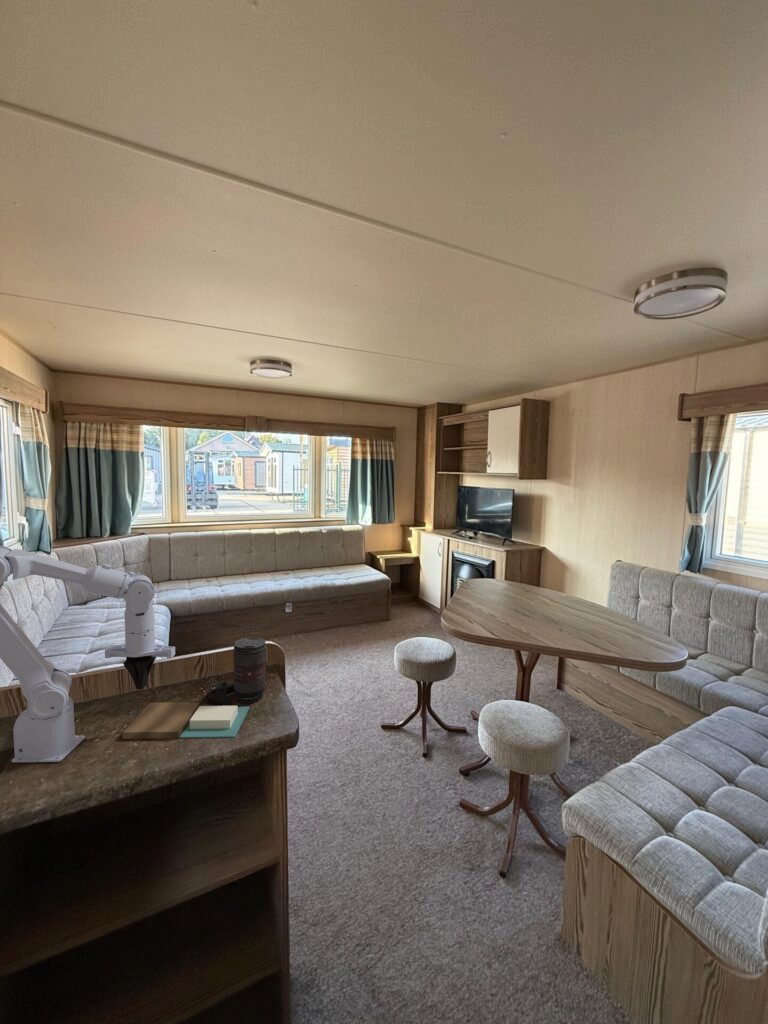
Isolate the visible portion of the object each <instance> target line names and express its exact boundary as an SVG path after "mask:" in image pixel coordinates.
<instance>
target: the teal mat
mask: <svg viewBox="0 0 768 1024" xmlns="http://www.w3.org/2000/svg"><path fill="white" fill-rule="evenodd" d="M249 709H250V706H238V714H237V716H236V718H235V720H234V722H233V724H232V726H231V727H230V728H223V729H190V723H189V724H188V726H187V727H186V729H185V730H184V731H183V733H182V734H181V736H180V737H179V739H206V738H207V739H216V738H217V739H223V738H226V739H231V738H232V739H233V738H236V737H237V735H238V732H239V730H240V728H241V726H242V724H243V722H244V721H245V718H246V716H247V714H248V712H249Z"/></svg>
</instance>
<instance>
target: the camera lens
mask: <svg viewBox="0 0 768 1024" xmlns="http://www.w3.org/2000/svg"><path fill="white" fill-rule="evenodd" d="M266 661H267V644H266V640H265V639H263V638H261V637H258V636H257V637H256V636H253V637H252V636H251V637H250V636H249V637H248V636H247V637H243V638H240V639H237V640H236V641H235V642H234V646H233V665H234V666H233V668H234V669H233V675H232V676H233V682H234V690H235V691H234V695H235V697H236V701H237V702H238V703H240V704H242V705H251V704H254V703H257V702H259V701H261V700H262V699H263V697H264V693H265V691H266V681H267V680H266V679H267V678H266Z"/></svg>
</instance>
